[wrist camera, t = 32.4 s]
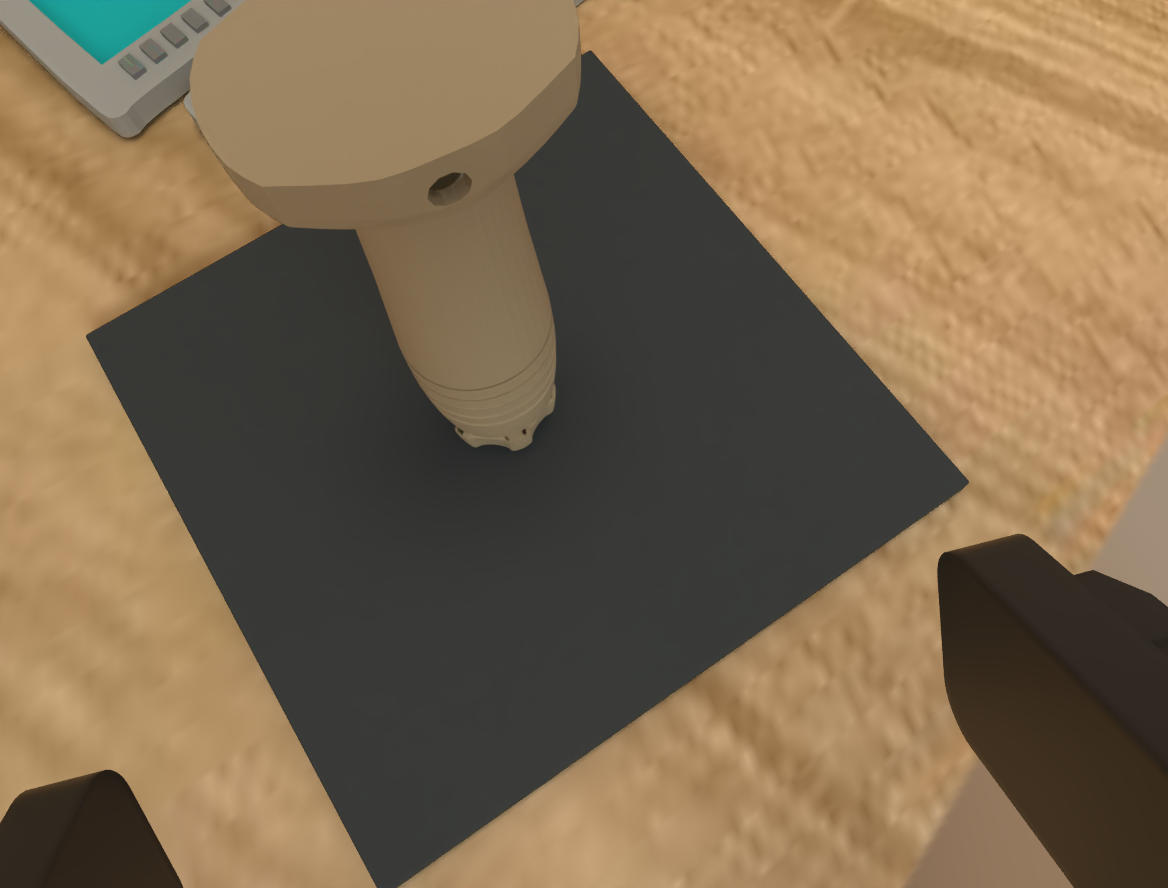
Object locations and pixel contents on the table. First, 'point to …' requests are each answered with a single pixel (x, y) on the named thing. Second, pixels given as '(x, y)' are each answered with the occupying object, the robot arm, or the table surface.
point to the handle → (410, 170)
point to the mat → (515, 483)
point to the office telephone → (118, 50)
